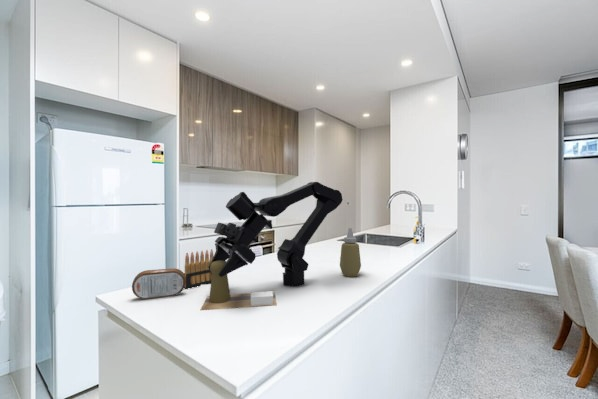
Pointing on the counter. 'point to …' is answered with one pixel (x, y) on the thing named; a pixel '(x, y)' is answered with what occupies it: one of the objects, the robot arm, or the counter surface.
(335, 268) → the counter surface
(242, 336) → the counter surface
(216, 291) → the cork
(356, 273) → the squeeze bottle
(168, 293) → the tin
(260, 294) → the white rectangular prism
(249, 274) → the counter surface
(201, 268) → the ammunition clip
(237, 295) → the oak plank
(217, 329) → the counter surface
